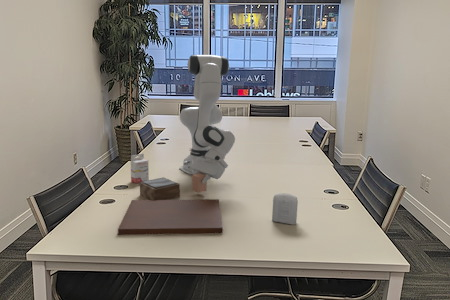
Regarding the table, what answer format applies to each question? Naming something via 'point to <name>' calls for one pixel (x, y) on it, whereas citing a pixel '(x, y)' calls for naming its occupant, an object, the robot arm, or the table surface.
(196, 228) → the brown wooden board
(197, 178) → the terracotta block
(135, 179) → the ink cartridge box
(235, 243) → the table surface
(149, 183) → the walnut pedestal
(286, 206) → the grey tombstone
